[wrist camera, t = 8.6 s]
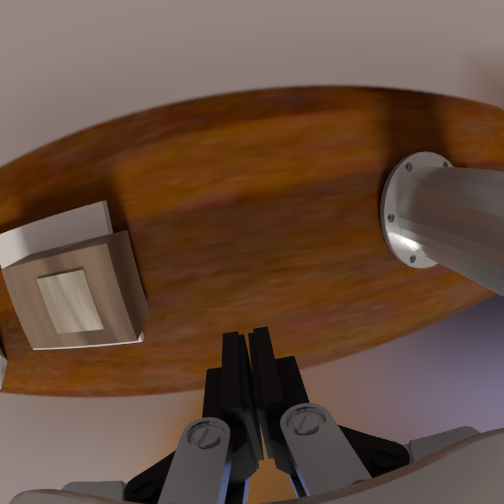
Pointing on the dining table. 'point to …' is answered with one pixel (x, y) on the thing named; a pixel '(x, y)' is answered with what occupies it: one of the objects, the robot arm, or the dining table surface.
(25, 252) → the board
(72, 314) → the walnut block
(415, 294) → the dining table surface
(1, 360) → the die
